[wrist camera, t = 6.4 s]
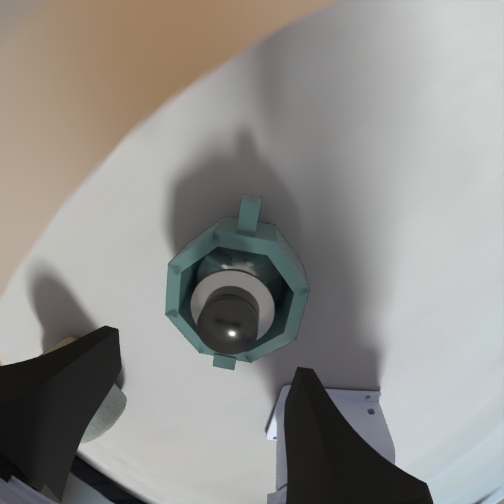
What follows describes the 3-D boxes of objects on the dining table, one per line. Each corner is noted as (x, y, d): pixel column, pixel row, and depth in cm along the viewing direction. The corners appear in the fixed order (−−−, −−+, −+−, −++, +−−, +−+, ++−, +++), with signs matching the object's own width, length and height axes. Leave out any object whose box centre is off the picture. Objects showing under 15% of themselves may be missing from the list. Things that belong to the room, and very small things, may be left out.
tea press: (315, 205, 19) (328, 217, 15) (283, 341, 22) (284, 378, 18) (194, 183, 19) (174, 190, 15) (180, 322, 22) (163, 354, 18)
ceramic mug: (84, 321, 23) (36, 370, 16) (138, 387, 25) (107, 445, 18) (38, 350, 25) (-1, 389, 18) (82, 403, 27) (53, 447, 20)
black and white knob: (289, 248, 19) (297, 288, 13) (272, 322, 21) (272, 380, 15) (203, 233, 19) (174, 266, 13) (195, 308, 21) (170, 361, 15)
